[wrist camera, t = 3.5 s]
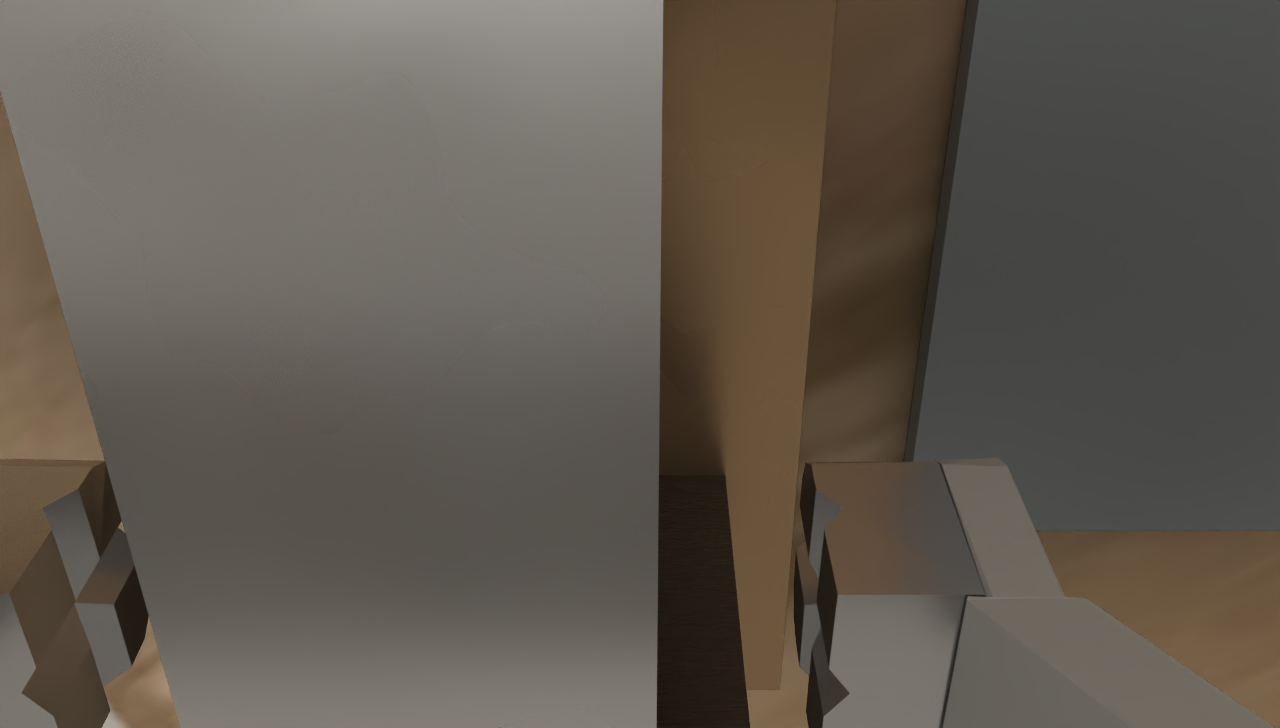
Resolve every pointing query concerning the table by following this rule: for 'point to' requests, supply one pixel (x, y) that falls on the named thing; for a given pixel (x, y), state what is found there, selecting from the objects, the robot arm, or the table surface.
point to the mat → (1111, 263)
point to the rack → (733, 337)
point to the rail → (366, 342)
